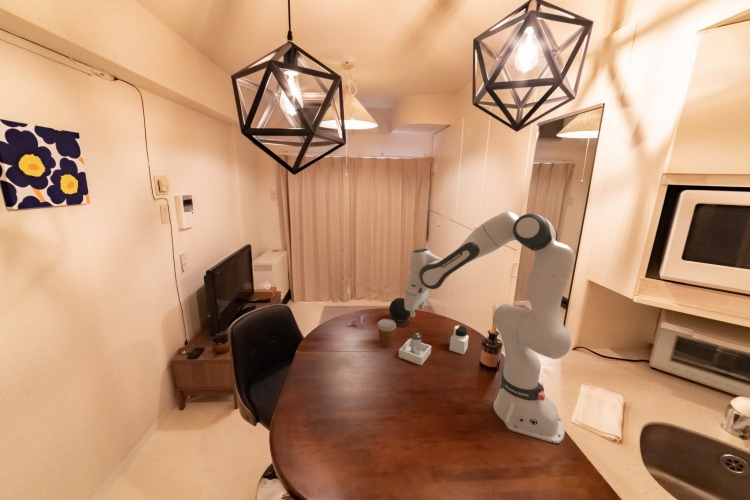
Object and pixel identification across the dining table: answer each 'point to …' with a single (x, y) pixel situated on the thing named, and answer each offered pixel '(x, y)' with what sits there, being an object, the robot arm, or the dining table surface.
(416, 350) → the salt shaker
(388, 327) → the disposable coffee cup
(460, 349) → the medicine bottle
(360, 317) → the lily
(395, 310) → the black ball on stand
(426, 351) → the white square tray
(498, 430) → the dining table surface
